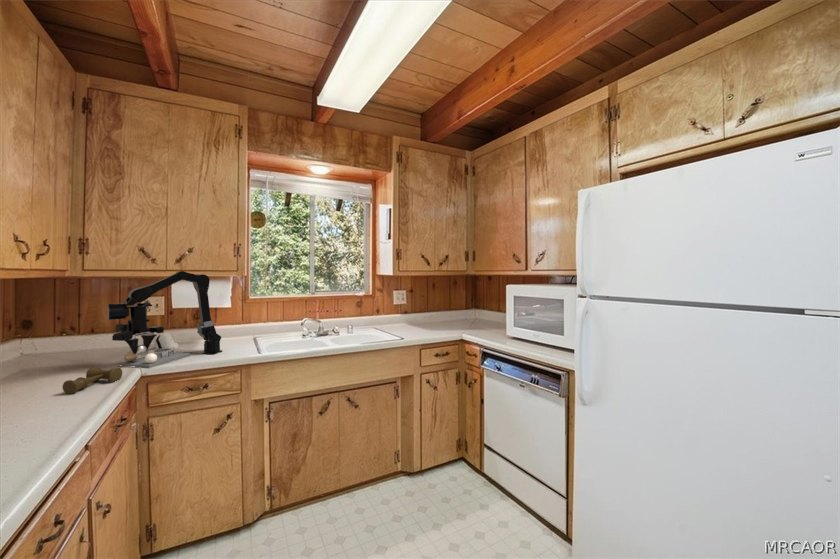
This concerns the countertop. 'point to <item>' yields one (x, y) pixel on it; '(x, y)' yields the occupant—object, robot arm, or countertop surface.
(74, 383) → the kendama
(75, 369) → the countertop surface
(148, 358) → the plastic ball
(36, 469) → the countertop surface
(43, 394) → the countertop surface
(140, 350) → the steel ball
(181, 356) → the mat
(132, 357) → the tan wooden ball
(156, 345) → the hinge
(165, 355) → the crimped metal cup
